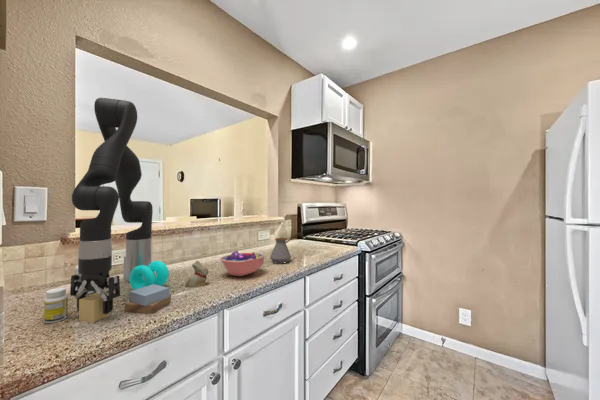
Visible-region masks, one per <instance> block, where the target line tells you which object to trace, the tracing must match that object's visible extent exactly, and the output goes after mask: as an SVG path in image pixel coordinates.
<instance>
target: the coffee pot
mask: <svg viewBox="0 0 600 400" xmlns="http://www.w3.org/2000/svg"><path fill="white" fill-rule="evenodd" d="M299 234H300V232H298V233H296V234H295V235H293V236H292V237H290V238H289V239H288V240H287V238H285V237H276V238H275V239H274V240H275V245H274V247H273V249H272V252H271V254H270V260H271V261H272V262H273V263H274V262H276V263H275V264H278V263H283V264H285V263H284V262H287V261H288V262H289V261H290V260H291V258H292V255H291V252H290V251H289V249H288V245H287V244H288V243H289V242H290V241H292V240H293V239H295V238H296V237H297V236H300V237H301V236H302V234H300V235H299ZM288 262H287V263H288Z"/></svg>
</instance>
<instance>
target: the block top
mask: <svg viewBox="0 0 600 400" xmlns="http://www.w3.org/2000/svg"><path fill="white" fill-rule="evenodd" d="M106 294H107V296H108V293H106ZM86 296H87V295H86ZM103 301H104V300H103V298H102V296H101V295H98V293H97V292H94V293H91V294H90V295H88V296H87V297H84V298H82V299H79V311H78V321H80V322H88V323H95V322H97V321H99V320H101V319H104V318H106V317H108V316H110V315H111V312H109V313H107V314H103Z"/></svg>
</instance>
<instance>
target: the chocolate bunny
mask: <svg viewBox="0 0 600 400" xmlns="http://www.w3.org/2000/svg"><path fill="white" fill-rule="evenodd" d="M191 267H192V268H193V270H194V273H193V274H192V275H190V276H189V277H188V279H187V281H186V282H185V285H184V286H185V287H188V288H198V287H199V286H200V287H204V286H206V285H205V284H207V282H206V281H207V279H208V277H207V276H208V274H209V269H208V268H207V267H206V266H204V265H203V264H202V263H201V262H200V261H199V260H195V262H194V263H192V265H191ZM203 285H204V286H203Z"/></svg>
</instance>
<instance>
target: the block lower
mask: <svg viewBox="0 0 600 400" xmlns="http://www.w3.org/2000/svg"><path fill="white" fill-rule="evenodd" d="M171 302H172V294H170V293H169V297H168V298H166V299H163V300H160V301H157V302H155V303H152V304H149V305H147V306H143V305H140V304H137V303H133V302H130V301H128V302H126V303H125V304H124V313H127V314H128V313H130V314H144V315H145V314H147V315H153V314H155V313H157V312H158V311H159V310H161V309H163V308H165V307H166V306H167V305H169V304H171Z"/></svg>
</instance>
